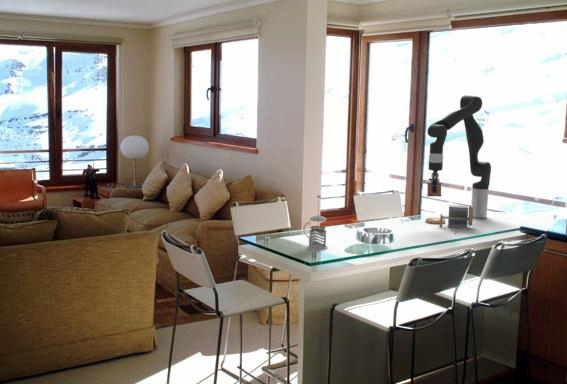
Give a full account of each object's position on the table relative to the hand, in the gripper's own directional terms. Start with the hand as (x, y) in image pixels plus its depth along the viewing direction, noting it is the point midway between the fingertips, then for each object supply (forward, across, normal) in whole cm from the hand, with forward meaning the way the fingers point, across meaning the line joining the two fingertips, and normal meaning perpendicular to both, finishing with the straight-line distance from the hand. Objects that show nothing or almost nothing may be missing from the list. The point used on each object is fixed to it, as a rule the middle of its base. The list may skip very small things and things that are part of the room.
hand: (434, 192), depth 367 cm
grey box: (+19, 0, -13) cm, 23 cm away
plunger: (+18, 0, -13) cm, 22 cm away
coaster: (+19, +11, -1) cm, 22 cm away
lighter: (+2, -1, 0) cm, 3 cm away
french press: (+18, -72, +53) cm, 91 cm away
